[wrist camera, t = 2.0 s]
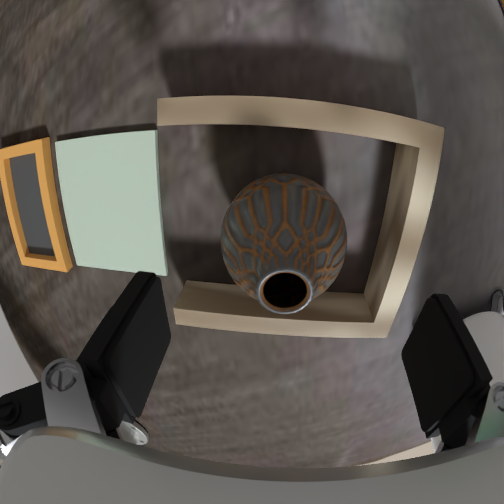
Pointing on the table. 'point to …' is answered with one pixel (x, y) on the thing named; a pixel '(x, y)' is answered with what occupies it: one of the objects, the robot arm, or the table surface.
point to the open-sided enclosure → (391, 233)
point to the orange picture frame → (34, 205)
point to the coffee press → (487, 342)
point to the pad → (113, 200)
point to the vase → (283, 241)
